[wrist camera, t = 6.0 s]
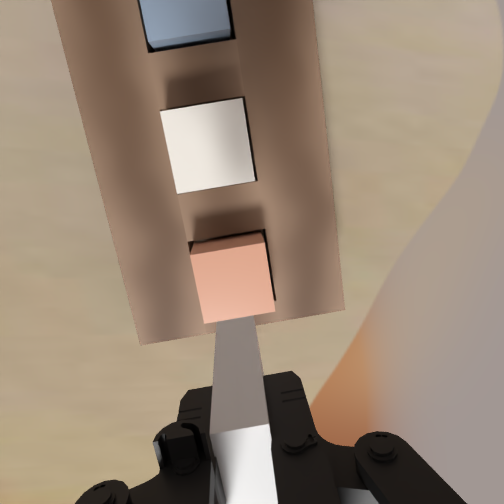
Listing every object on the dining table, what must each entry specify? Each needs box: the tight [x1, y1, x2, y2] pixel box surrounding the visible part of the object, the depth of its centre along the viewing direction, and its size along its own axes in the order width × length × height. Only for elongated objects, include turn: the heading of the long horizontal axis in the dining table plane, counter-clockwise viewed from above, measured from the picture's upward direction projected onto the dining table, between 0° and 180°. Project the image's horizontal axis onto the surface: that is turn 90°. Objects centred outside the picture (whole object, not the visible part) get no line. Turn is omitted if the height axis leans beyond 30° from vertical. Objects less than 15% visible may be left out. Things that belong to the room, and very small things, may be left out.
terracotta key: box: [190, 231, 275, 324], centre depth 26 cm, size 4×4×3 cm
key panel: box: [51, 0, 345, 345], centre depth 27 cm, size 14×24×6 cm, turn 9°
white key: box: [160, 98, 255, 194], centre depth 24 cm, size 4×4×3 cm
